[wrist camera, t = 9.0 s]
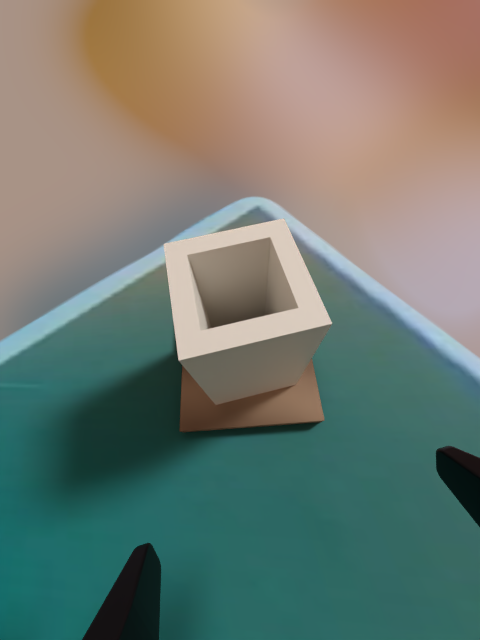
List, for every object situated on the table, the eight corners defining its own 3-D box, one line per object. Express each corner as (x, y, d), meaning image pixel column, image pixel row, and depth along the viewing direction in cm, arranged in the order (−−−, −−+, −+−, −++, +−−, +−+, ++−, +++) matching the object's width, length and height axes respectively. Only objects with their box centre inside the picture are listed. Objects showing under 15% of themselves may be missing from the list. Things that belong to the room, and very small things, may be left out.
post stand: (321, 422, 18) (336, 414, 15) (183, 432, 19) (166, 427, 15) (297, 303, 23) (305, 276, 19) (187, 312, 23) (175, 287, 20)
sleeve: (295, 384, 19) (332, 323, 10) (215, 405, 18) (178, 360, 9) (272, 315, 21) (284, 218, 13) (202, 331, 21) (163, 244, 12)
